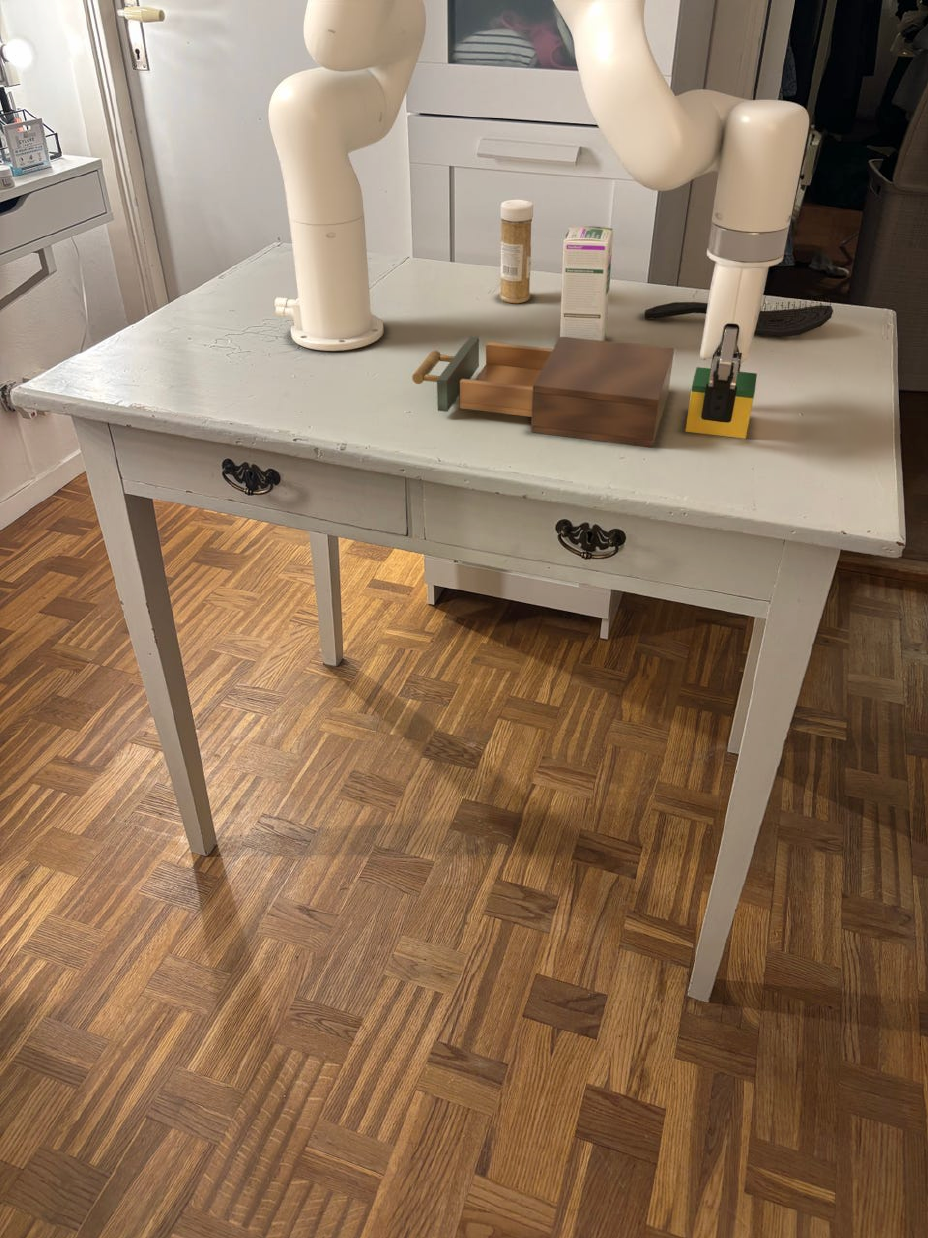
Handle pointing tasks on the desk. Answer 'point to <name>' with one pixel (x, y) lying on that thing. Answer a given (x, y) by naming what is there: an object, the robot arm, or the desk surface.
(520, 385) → the drawer
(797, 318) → the hairbrush
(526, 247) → the sprinkles bottle
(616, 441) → the drawer unit
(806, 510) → the desk surface
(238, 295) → the desk surface
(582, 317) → the syrup box
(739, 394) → the sponge
